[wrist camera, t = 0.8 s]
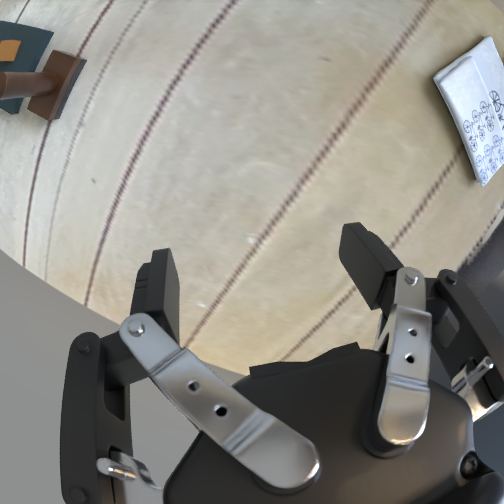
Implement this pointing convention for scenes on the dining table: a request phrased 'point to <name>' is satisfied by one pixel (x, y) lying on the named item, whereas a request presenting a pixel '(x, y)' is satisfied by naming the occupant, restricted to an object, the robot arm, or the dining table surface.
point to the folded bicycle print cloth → (477, 105)
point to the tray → (22, 54)
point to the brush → (44, 84)
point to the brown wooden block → (8, 50)
